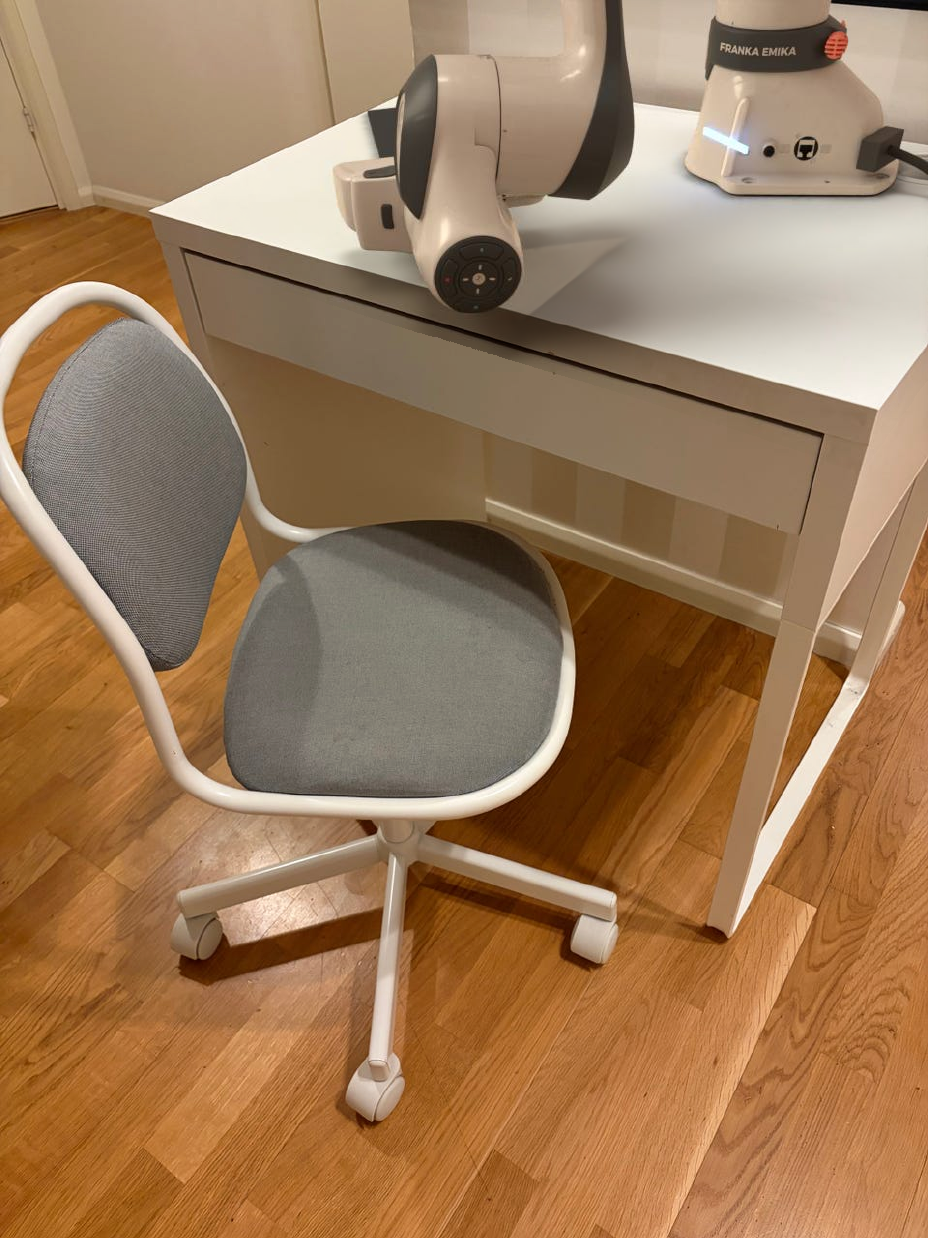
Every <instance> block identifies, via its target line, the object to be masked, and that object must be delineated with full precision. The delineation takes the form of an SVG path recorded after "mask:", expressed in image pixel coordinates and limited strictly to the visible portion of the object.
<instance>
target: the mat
mask: <svg viewBox="0 0 928 1238" xmlns="http://www.w3.org/2000/svg"><path fill="white" fill-rule="evenodd" d="M395 109H396V107H387V108H380V109H379V108H378V109H370V110H367V116H368V120H369V124H370V128H371V131H372V135H373V139H374V142H375V146H376V150H377V155H378V158H387V157H394V153H393V130H394V117H395Z"/></svg>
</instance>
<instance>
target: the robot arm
mask: <svg viewBox="0 0 928 1238" xmlns="http://www.w3.org/2000/svg"><path fill="white" fill-rule="evenodd" d="M831 4H832V0H716V10H715V15H714V16H713V18H712V19H711V20H710V26H709V29H708V31H707V41H706V50H705V59H704V70H705V71H704V72H705V73H704V78H705V80H706V82H705V87H704V93H703V97H702V103H701V107H700V111H699V115H698V118H697V119H698V120H697V123H696V126H695V131H694V134H693V137H692V140H691V143H690V146H689V148H688V152H687V153H686V156H685V159H684V165H685V168H686V169H687V170H688V171H689V172H690V173H691V174H693V175H695V176H696V177H699V178H701V179H704V180H706V181H709V182H710V183H711V182H712V183H714V184H715V185H717V186H718V187H720V189H722V190H723V191H724V192H726V193H728V194H731V195H777V196H778V195H792V196H793V195H794V196H796V195H797V196H801V195H803V196H806V195H807V196H809V195H810V196H873V195H877V194H879V193H881V192H883V191H885V190H887V189H888V188H890V187H891V186H892V185H893V184H894V182H895V181H896V179H897V175H898V173H899V172H898V171H899V164H900V161H901V162H903V163H905V164H908V165H910V166H912V167H914V168H916V169H918V170H920V171H921V172H922V173H924V174H926V175H927V176H928V161H927V160H926V159H924V158H922V157H921V156H918V155H916V154H913V153H911V152H909V151H906V150H904V149H903V148H901V145H902V141H903V137H904V134H905V128H900V127H894V126H889V125H885V123H884V122H885V121H884V112H883V106H882V103H881V101H880V99H879V97H878V96H877V94H876V93H875V92H874V91H873V90H872V89H870V88H869V86H868V85H866V84H865V83H864V81H862V79H860V78H859V77H858V76H857V74H855V73H854V72H853V71H852V70H851V68H849V66H847V64H846V63H845V62H844V61H843V60H842V57H843V54H845V52H846V49H847V48H848V45H849V37H848V35H847V34H848V28H847V25H846V21H845V20H844V19H842V20H841V22H840V21H838V19H836V18H835V17H834V16H832V15H831V14H830V10H831ZM560 6H561V7H560V8H561V18H562V29H563V40H564V46H563V47H564V48H563V51H562V52H561V53H559V54H557V55H554V56H510V55H509V56H508V55H507V56H506V55H505V56H499V55H497V56H496V55H491V54H468V53H467V54H460V53H459V54H457V53H455V54H446V53H445V54H432V53H431V54H429V55H427V56H426V57H425V58H424V59H423V60H422V61H420V62H419V63H418V65H417V66H416V67H415V68H414V69H413V71H411V74H410V75H409V76H408V77H407V79H406V81H405V82H404V83H403V86H402V87H401V89H400V91H399V94H398V96H397V99H396V103H395V108H396V109H395V117H394V130H393V153H394V157H387V158H379V157H377V158H370V159H362V160H354V161H353V160H352V161H344V162H340V163H338V164H336V165H334V166H333V167H332V176H333V183H334V189H335V197H336V202H337V206H338V210H339V212H340V215H341V218H342V219H343V221H344V223H345V225H346V226H347V228H348V229H350V230H352V231H353V232H355V233H356V236H357V240H358V243H359V246H360V248H361V249H363V250H364V251H371V252H372V251H374V252H376V251H377V252H394V253H403V254H404V253H405V254H409V255H413V257H414V259H415V263H416V266H417V268H418V271H419V273H420V275H421V277H422V280H423V282H424V283H425V285H426V287H427V289H428V290H429V292H430V293H431V294H432V296H433V297H434V298H435V299H436V300H437V301H438V302H439V303H440V304H441V305H443V306H444V307H446V308H447V309H449V310H451V311H453V312H457V313H460V314H465V315H466V314H467V315H476V314H484V313H488V312H492V311H494V310H496V309H498V308H500V307H501V306H503V305H504V304H506V303H507V302H508V301H510V299H511V298H512V297H513V296H514V295H515V293H517V291H518V289H519V288H520V286H521V283H522V281H523V277H524V268H525V261H524V251H523V248H522V241H521V237H520V233H519V230H518V228H517V225H516V223H515V220H514V218H513V215H512V213H511V211H510V208H511V209H512V208H519V207H526V206H527V207H528V206H532V205H535V204H538V203H540V202H542V201H543V200H544V198H545V197H546V196H547V197H549V198H559V199H568V200H580V201H591V200H593V199H594V198H595V197H598V196H599V195H600V194H601V193H602V192H604V191H605V190H606V189H607V188H609V186H611V185H612V184H613V183H614V182H615V181H616V180H617V179H618V178H619V177H620V175H621V174H622V173H623V172H624V171H625V169H626V168H628V165H629V164H630V161H631V158H632V154H633V151H634V143H635V131H636V119H635V118H636V117H635V108H634V107H635V106H634V96H633V89H632V82H631V75H630V69H629V62H628V56H627V48H626V37H625V25H624V11H623V9H624V8H623V0H560Z"/></svg>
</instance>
